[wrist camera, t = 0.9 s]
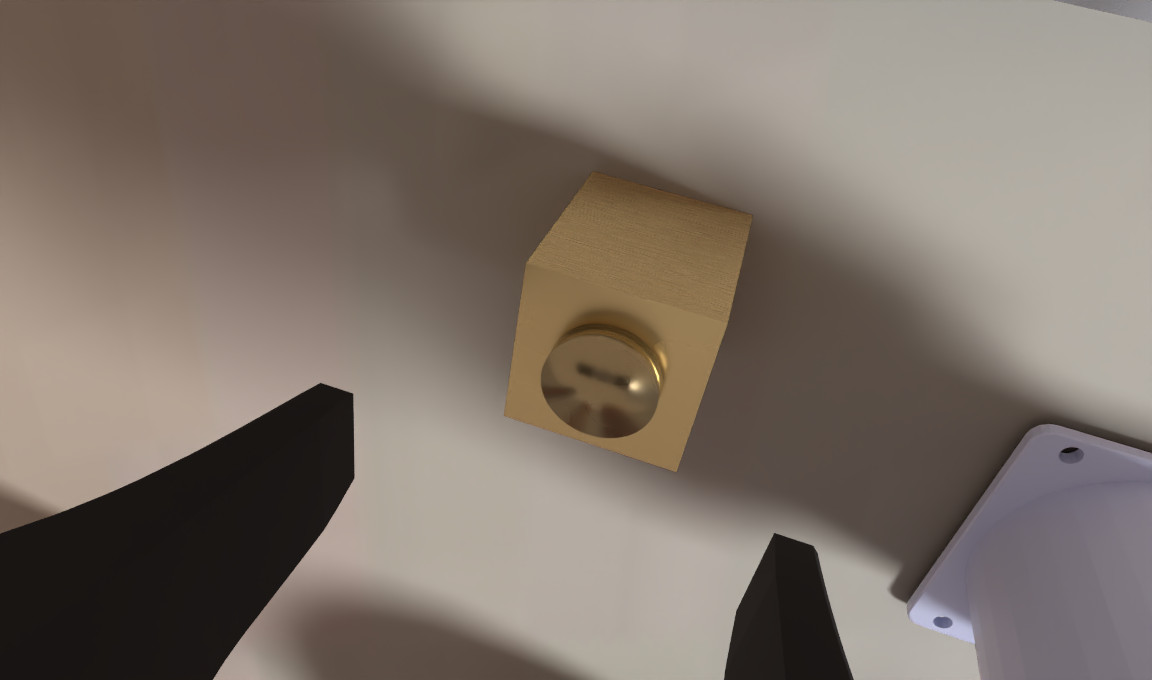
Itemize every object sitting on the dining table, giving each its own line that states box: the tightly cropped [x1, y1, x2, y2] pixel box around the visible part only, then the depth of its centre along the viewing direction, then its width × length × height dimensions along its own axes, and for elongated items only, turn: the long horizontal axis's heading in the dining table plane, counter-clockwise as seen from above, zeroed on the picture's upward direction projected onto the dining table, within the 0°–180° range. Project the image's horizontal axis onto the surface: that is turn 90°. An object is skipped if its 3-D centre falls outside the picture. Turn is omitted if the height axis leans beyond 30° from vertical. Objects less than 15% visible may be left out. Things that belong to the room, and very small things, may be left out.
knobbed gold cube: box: [504, 171, 753, 472], centre depth 17 cm, size 4×4×6 cm
